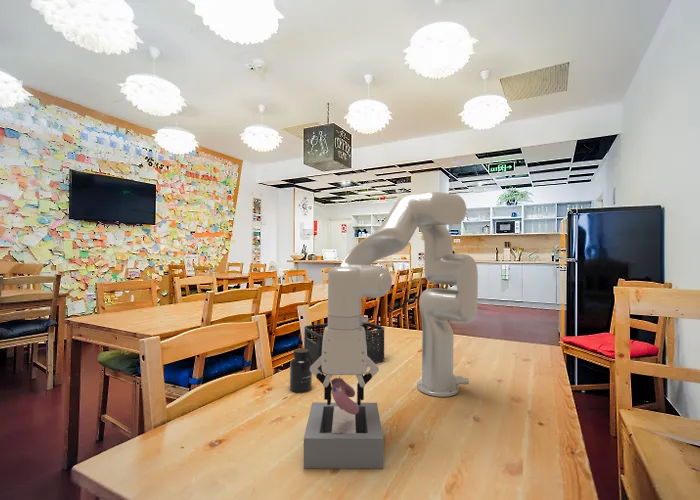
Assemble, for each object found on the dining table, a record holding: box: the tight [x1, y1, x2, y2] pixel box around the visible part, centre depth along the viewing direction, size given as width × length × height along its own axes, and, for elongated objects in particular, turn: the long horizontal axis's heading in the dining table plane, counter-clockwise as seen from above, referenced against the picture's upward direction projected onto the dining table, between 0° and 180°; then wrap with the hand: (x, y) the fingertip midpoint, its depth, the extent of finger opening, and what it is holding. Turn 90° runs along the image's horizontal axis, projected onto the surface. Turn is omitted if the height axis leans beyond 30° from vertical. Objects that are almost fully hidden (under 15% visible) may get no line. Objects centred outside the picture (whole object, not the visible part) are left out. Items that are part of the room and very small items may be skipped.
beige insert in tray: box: [331, 406, 357, 434], centre depth 77 cm, size 5×13×2 cm, turn 0°
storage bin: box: [303, 321, 385, 372], centre depth 135 cm, size 29×19×13 cm
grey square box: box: [303, 401, 384, 469], centre depth 77 cm, size 16×16×6 cm
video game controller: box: [330, 375, 359, 414], centre depth 77 cm, size 10×5×7 cm, turn 5°
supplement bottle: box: [289, 348, 313, 393], centre depth 108 cm, size 7×7×12 cm
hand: (344, 401), depth 76 cm, fingers closed on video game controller, 6 cm apart
